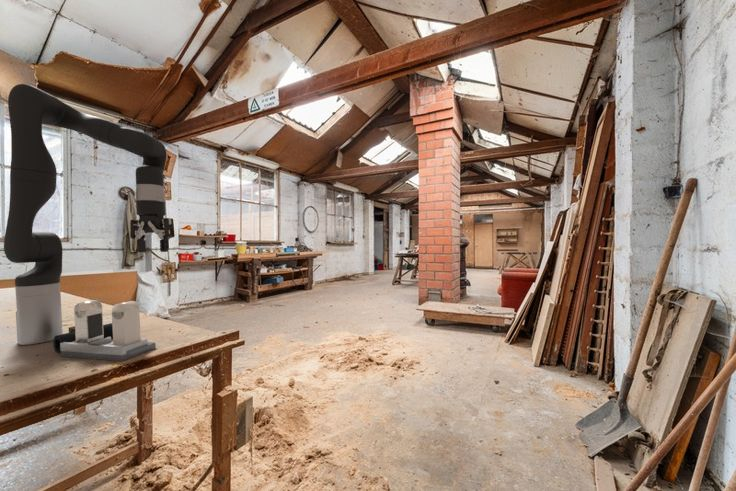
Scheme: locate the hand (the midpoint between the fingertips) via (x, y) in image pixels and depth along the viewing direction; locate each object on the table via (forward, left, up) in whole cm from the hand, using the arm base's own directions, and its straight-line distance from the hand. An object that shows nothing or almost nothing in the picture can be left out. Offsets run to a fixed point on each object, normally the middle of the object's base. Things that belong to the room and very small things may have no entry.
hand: (153, 252), depth 95 cm
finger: (+7, -15, -25) cm, 30 cm away
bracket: (+1, -15, -26) cm, 30 cm away
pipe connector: (-15, -9, -27) cm, 32 cm away
